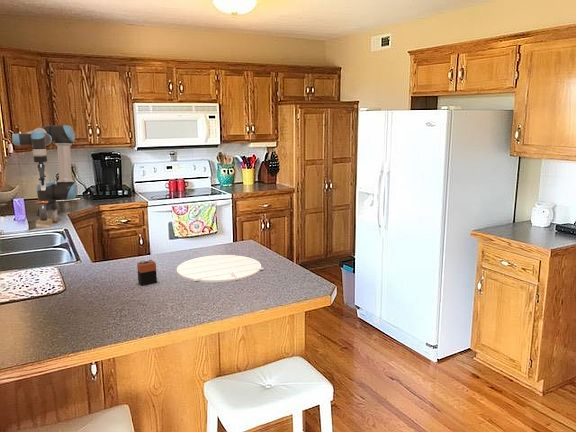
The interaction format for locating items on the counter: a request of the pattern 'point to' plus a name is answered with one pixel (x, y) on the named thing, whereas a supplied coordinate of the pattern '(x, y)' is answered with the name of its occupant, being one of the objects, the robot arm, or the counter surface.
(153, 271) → the battery
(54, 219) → the chuck
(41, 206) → the chuck key
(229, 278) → the lazy susan
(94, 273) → the counter surface
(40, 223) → the block
